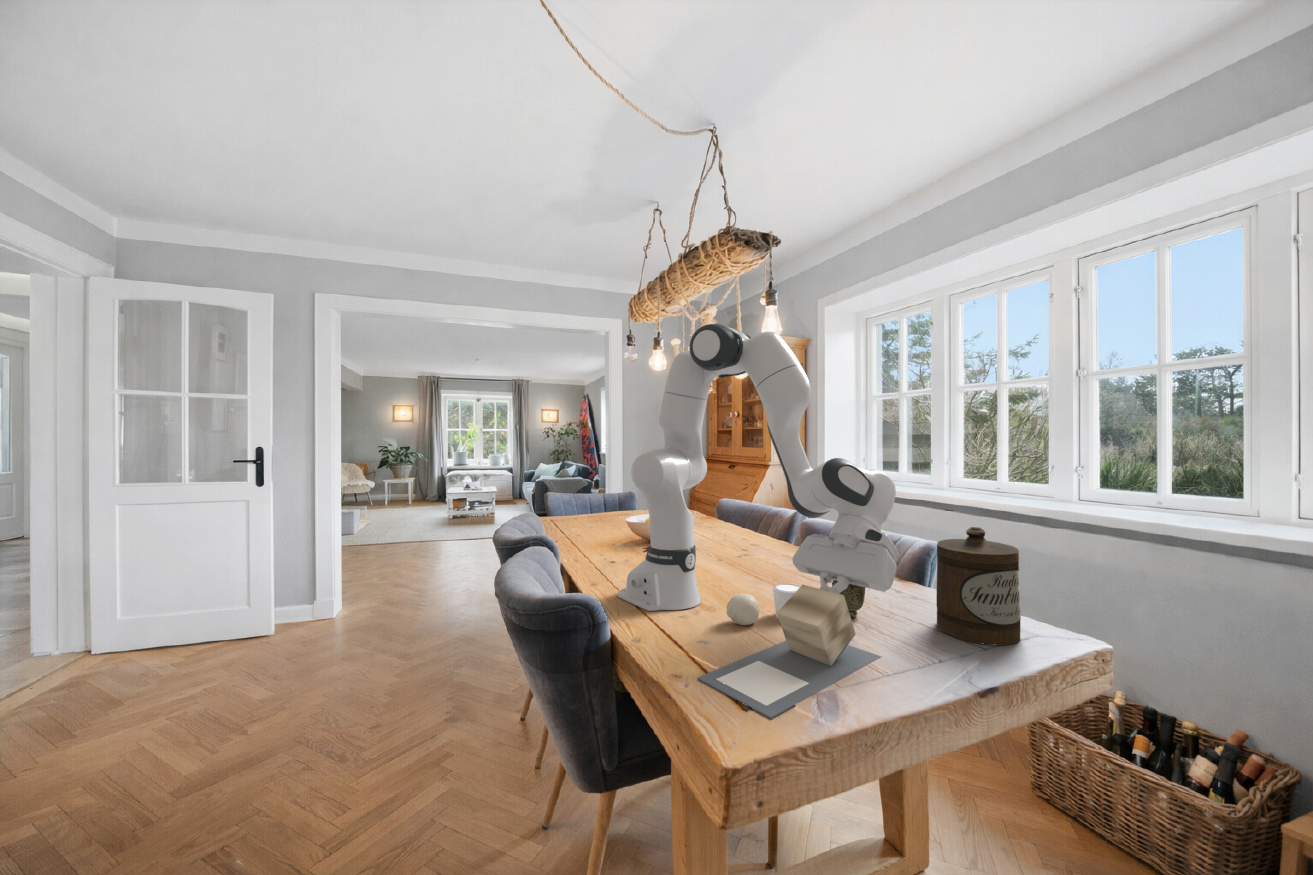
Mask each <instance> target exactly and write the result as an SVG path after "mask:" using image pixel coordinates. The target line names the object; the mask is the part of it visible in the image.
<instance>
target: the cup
mask: <svg viewBox="0 0 1313 875" xmlns="http://www.w3.org/2000/svg"><path fill="white" fill-rule="evenodd" d="M837 582H838V581H836V580H832V581H831V587H832V586H834V585H835V584H836V583H837ZM838 594H841V595H844V597H845V600H846V604H847V607H848V610H849V614H850V617H851V619H852V618H856V617H857V616H858V611H859V610H860V609H862V607H863V605H864V603H865V595H866V587H861V586H857V585H853V584H849V585H848V587H847V588H846V589H845V590H843V591H842V592H840V593H838Z"/></svg>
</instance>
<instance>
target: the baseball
mask: <svg viewBox="0 0 1313 875" xmlns="http://www.w3.org/2000/svg"><path fill="white" fill-rule="evenodd" d="M726 615H727V617H728V618H730V620H732V621H733V622H734V623H735V624H737V625H740V626H743V627H744V626H745V627H746V626H750V625H752V624H754V623H755V622H756V621H757V620H758V618H759V616H760V606H759V603H758V601H757V600H756V598H755V597H754V596H753V595H751V594H749V593H737V594H735V595H733V596H732V597H731V598H730V600H729V601H728V603H727V605H726Z"/></svg>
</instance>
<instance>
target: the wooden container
mask: <svg viewBox="0 0 1313 875" xmlns="http://www.w3.org/2000/svg"><path fill="white" fill-rule="evenodd" d="M965 534H966V535H967V537H966V538H950V539H949V538H948V539H941V540H939V541H937V543H936V558H937V559H936V625H937V628H938V629H939V630H940V631H941V632H943V633H945V634H947V635H948V636H950V637H953V638H955V639H958V640H962V641H965V642H969V643H973V642H977V643H976V644H979V643H984V644H983V645H985V644H996V645H995V646H1009V645H1014V644H1016V643H1018V642H1020V641H1021V619H1022V618H1021V615H1022V614H1021V613H1022V612H1021V610H1022V609H1021V588H1020V586H1021V584H1020V553H1019V548H1017V547H1015V546H1012V545H1009V544H1006V543H1001V542H998V541H997V542H996V541H988V540H987V539H986V538H985V536H986V531H985V530H984V529H983V528H982V527H977V526H976V527H975V526H970V527H969V528H968V529H967V530H966V533H965Z"/></svg>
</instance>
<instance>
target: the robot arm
mask: <svg viewBox="0 0 1313 875" xmlns="http://www.w3.org/2000/svg"><path fill="white" fill-rule="evenodd" d="M744 374H747V375H748V377H749V378H750V380H751V382H752V383H753V385H754V386H753V387H754V388H755V390H756V392H757V394H758V396H759V399H760V402H761V403H762V407H763V410H764V413H765V418H766V426H767V431H768V434H769V438H770V440H771V442H772V446H773V448H774V450H775V453H776V455H777V458H778V461H779V464H780V466H781V468H782V472H783V474H784V477H785V480H786V486H787V487H786V488H787V494H788V495H787V496H788V499H789V501H790V503H791V505H792V507H793V508H794V509H795V510H796V512H798V513H799V514H800V515H802V516H804V517H807V518H810V519H816V518H817V519H818V518H820V517H823V516H824V515H826V514H828V513H829V512H830V511H832V510H835V511H836V512H837V514H838V517H837V519H836V521H835V523H834V525H833V527H832V529H831V531H830V533H829V534H821V533H819V532H816V533H815V532H814V533H813V534H809V535H807V536H806V537H805V539H804V541H803V542H802V543H800V545H799V546H798V548H797V549H796V551H795V553H794V554H793V556H792V558H791V560H792V564H793V565H794V568H796V569H797V571H799V572H800V573H803V574H809V575H812V576H816V577H819V581H820V582H819V583H820V587H819V589H822V590H826V591H830V592H833V593H837V594H838V593H840V592H842V591H843V590H845V589H846V588H847V587H848V585H849V584H853V585H857V586H861V587H865V589H871V590H874V591H880V592H883V593H884V592H886V591H889V590H890V589H891V588H892V586H893V584H894V580H895V577H896V573H897V570H898V569H897V568H898V567H897V566H898V565H897V564H896V562H897V561H898V560H899V558H900V554H899V551H898V549H897V547H896V545H895V544H894V542H893V541H892V540H891V538H890V537H889V536H888V535H887V534H886V533H883V532H882V528H883V526H884V525H885V524H886V523H887V522H888V519H889V517H890V515H891V513H892V511H893V508H894V504H895V502H896V495H897V493H896V489H897V488H896V485H895V482H894V481H893V480H892V478H891V477H890V476H889V475H888V474H885V473H884V472H882V471H881V470H876V469H865V468H861V467H858V466H856V464H854V463H853V462H851V461H850V460H848V459H846V458H843V457H841V458H840V457H834V458H831V459H829V460H827V461H825V462H823V463H821V464H819V465H818V466H816V467H813V468H812V467H811V464H810V461H809V459H808V457H807V454H806V451H805V449H804V446H803V444H802V441H801V436H800V425H801V421H802V419H803V416H804V414H805V412H806V410H807V409H808V406H809V404H810V401H811V398H812V397H811V396H812V388H811V385H810V380H809V378H808V376H807V374H806V372H805V370H804V368H803V366H802V365H801V363H800V361H799V360H798V357H797V356H796V354H795V353H794V351H793V350H792V349H791V348H790V346H789V345H788V343H786V340H784V339H783V338H782V336H781V335H779V334H778V333H776V332H774V331H763V332H760V333H758V334H756V335H754V336H752V337H750V335H749V334H747V333H744V332H743V331H740V330H739V329H737V328H734V327H729V326H725V325H723V324H718V323H709V324H704V325H702V326H701V327H699V328H697V329H696V330H695V332H693V333H692V335H691V338H690V341H689V348H688V350H684V351H682V352H679V353H678V354H676V355H675V357H674V358H673V361H672V363H671V366H670V369H669V371H668V375H667V378H666V382H665V386H664V391H663V395H662V402H661V406H660V412H659V416H658V422H659V426H660V427H661V429H662V430H663V438H664V448H656V449H651V450H649V451H646V452H643V453H642V454H639V455H638V456H637V457H636V458H635V459H634V461H633V463H632V465H631V472H630V473H631V479H632V482H633V484H634V486H635V487H636V488H637V489H638V490H639V491H640V492H641V493H642V496H643V498H644V501H645V504H646V506H647V511H648V516H649V529H650V530H649V531H650V532H649V533H650V536H649V537H650V545H648V546H646V547H643V548H642V549H643V551H642V553H646V555H645V559H644V560H643V561H641V562H640V563H639V564H638V565H636V566H635V567H634V568H633V569H631V570H630V571H629V573H628V574H627V578H626V585H625V586H626V587H624V588H622V589H621V590H619V591H618V592H617V596H616V597H617V598H619V599H621V600H624V601H626V602H628V603H630V604H632V605H634V606H637V607H639V608H641V609H644V610H645V611H649V612H651V611H653V612H654V611H678V610H685V609H690V608H694V607H696V606H699V605H700V604H701V602H702V599H701V595H700V592H699V587H698V581H697V575H696V574H697V573H696V559H697V550H696V545H695V544H694V541H695V539H694V536H695V534H694V531H695V530H694V528H695V527H694V515H693V513H692V512H691V510H690V509H689V508H688V507H687V503H686V499H685V497H684V492H683V490H689V489H692V488H694V487H695V486H697V485H699V484H700V483H701V482H703V481H704V480H705V477H706V475H707V474H708V473H707V472H708V464H707V460H706V458H705V457H704V454H703V443H702V442H703V439H702V438H703V436H702V435H703V433H702V432H703V426H704V425H703V424H704V420H705V414H706V409H707V405H708V404H707V403H708V399H709V392H710V389H711V385H712V383H713V380H714V379H716V378H717V377H718V378H728V377H737V376H742V375H744ZM833 580H836V581H838V582H837V583H836V584H835V585H834V586H832V585H831V586H828V585H829V584H832V582H833ZM831 581H832V582H831Z"/></svg>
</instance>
